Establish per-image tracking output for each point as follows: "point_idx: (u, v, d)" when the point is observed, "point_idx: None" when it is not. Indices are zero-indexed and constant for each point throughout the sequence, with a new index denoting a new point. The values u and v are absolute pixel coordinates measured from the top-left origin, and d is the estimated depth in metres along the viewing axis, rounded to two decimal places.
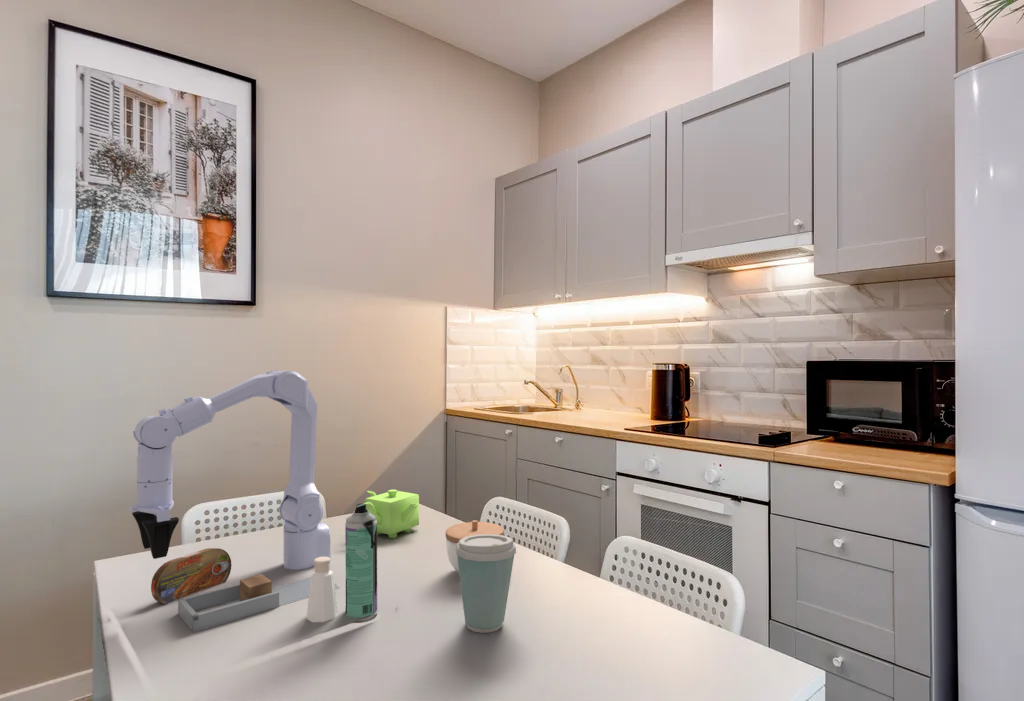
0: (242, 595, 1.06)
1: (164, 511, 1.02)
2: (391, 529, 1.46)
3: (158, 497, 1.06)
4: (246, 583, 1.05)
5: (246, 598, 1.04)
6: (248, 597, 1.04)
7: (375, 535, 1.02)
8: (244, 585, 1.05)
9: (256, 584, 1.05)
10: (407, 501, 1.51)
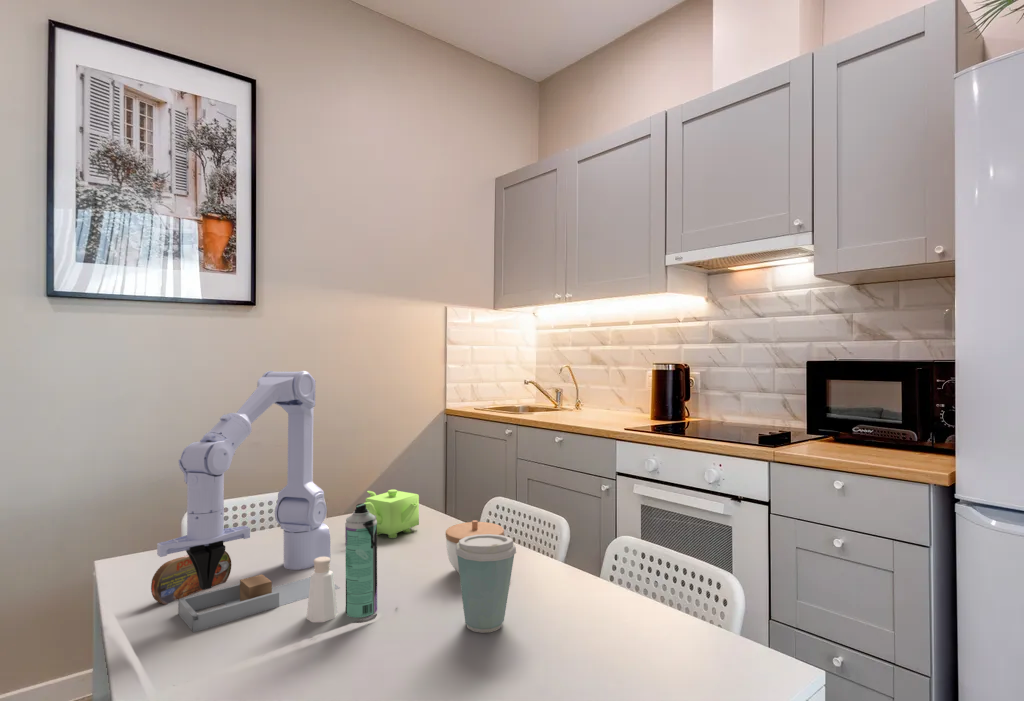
0: (242, 595, 1.06)
1: (158, 545, 0.96)
2: (391, 529, 1.46)
3: (187, 529, 0.99)
4: (246, 583, 1.05)
5: (246, 598, 1.04)
6: (248, 597, 1.04)
7: (375, 535, 1.02)
8: (244, 585, 1.05)
9: (256, 584, 1.05)
10: (407, 501, 1.51)
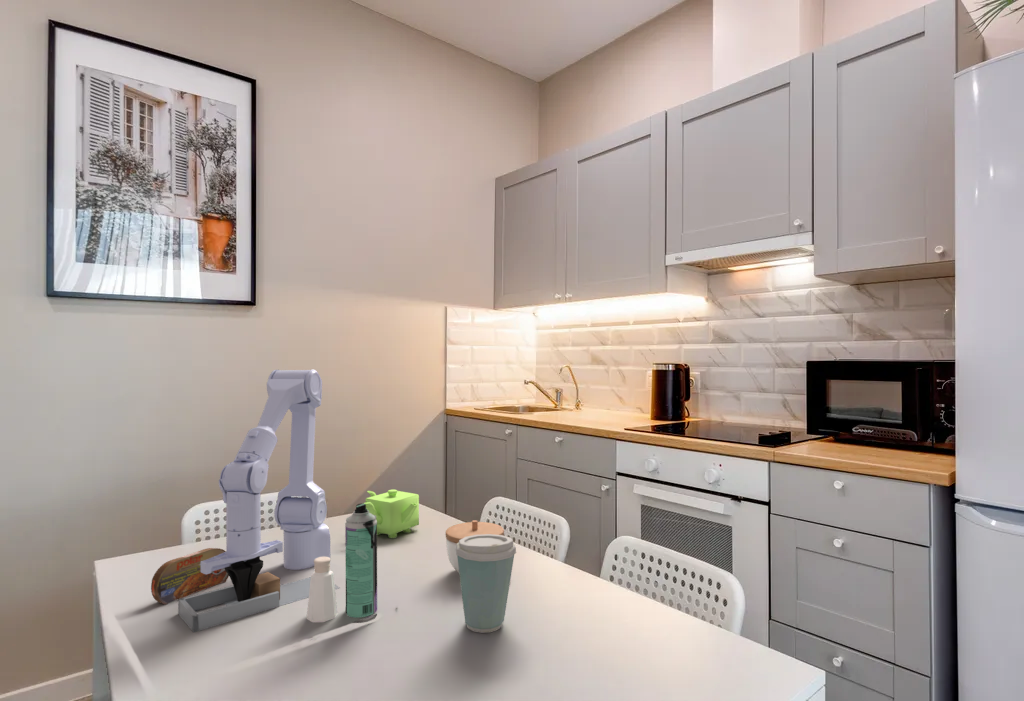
0: None
1: (203, 563, 0.99)
2: (391, 529, 1.46)
3: (228, 546, 1.03)
4: None
5: (255, 595, 1.05)
6: (257, 594, 1.05)
7: (375, 535, 1.02)
8: None
9: (265, 581, 1.06)
10: (407, 501, 1.51)
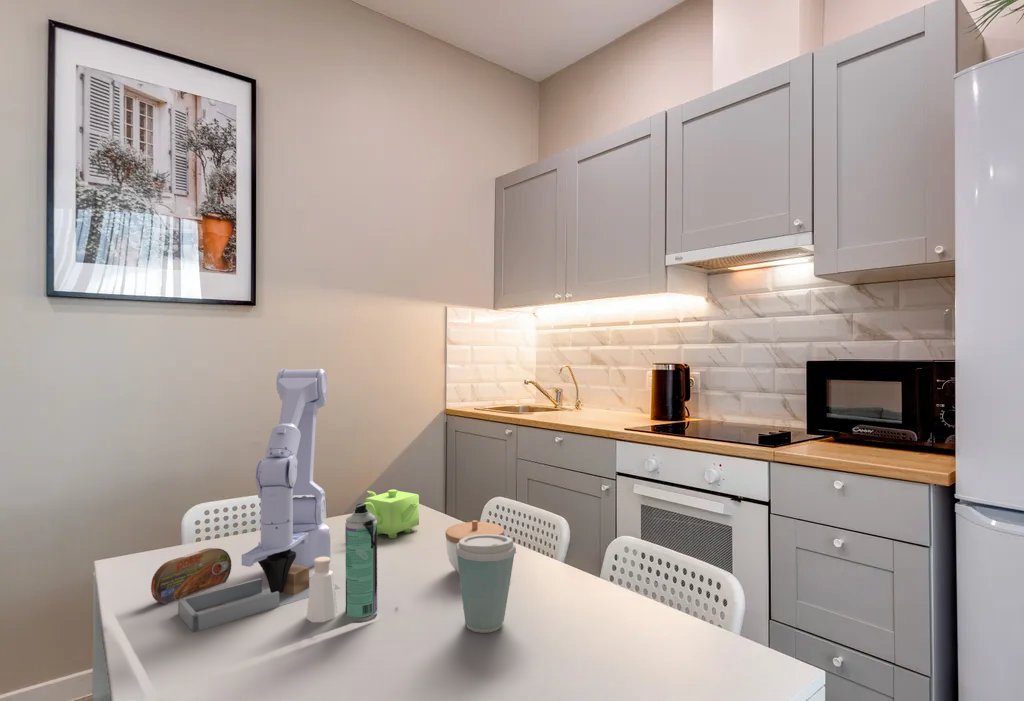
0: None
1: (245, 556, 1.03)
2: (391, 529, 1.46)
3: (265, 539, 1.07)
4: None
5: (288, 585, 1.10)
6: (292, 584, 1.10)
7: (375, 535, 1.02)
8: None
9: (297, 571, 1.11)
10: (407, 501, 1.51)
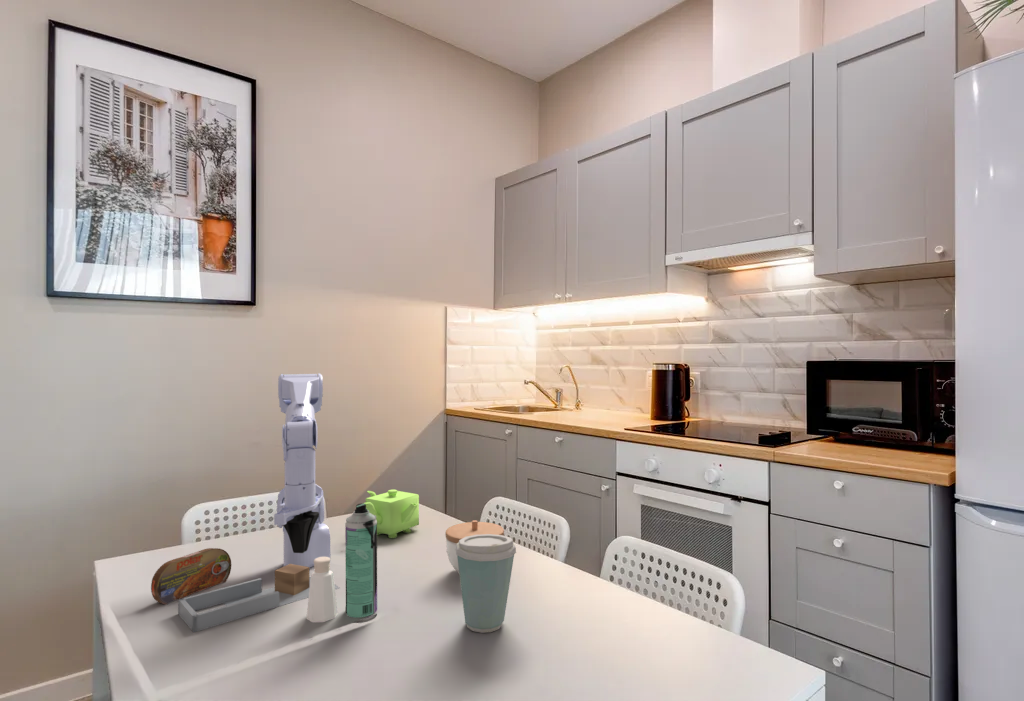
0: (280, 584, 1.11)
1: (279, 515, 1.05)
2: (391, 529, 1.46)
3: (292, 500, 1.10)
4: (286, 572, 1.11)
5: (288, 585, 1.10)
6: (292, 584, 1.10)
7: (375, 535, 1.02)
8: (284, 574, 1.11)
9: (297, 571, 1.11)
10: (407, 501, 1.51)
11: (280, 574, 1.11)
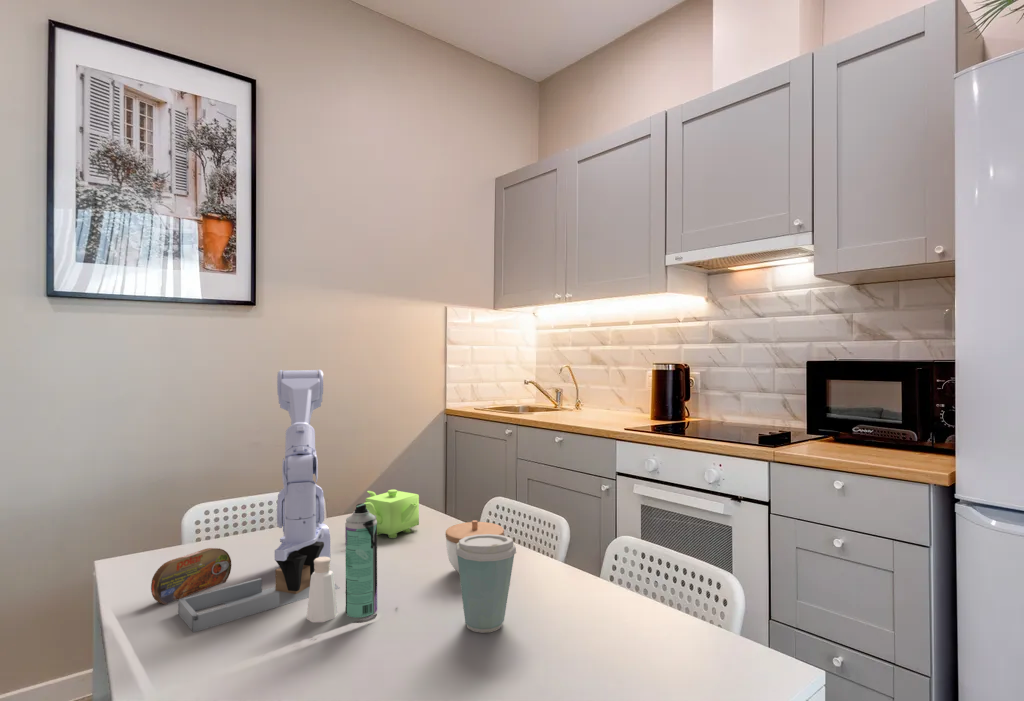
0: (281, 583, 1.11)
1: (279, 551, 1.05)
2: (391, 529, 1.46)
3: (292, 534, 1.10)
4: None
5: None
6: None
7: (375, 535, 1.02)
8: None
9: None
10: (407, 501, 1.51)
11: (281, 573, 1.11)
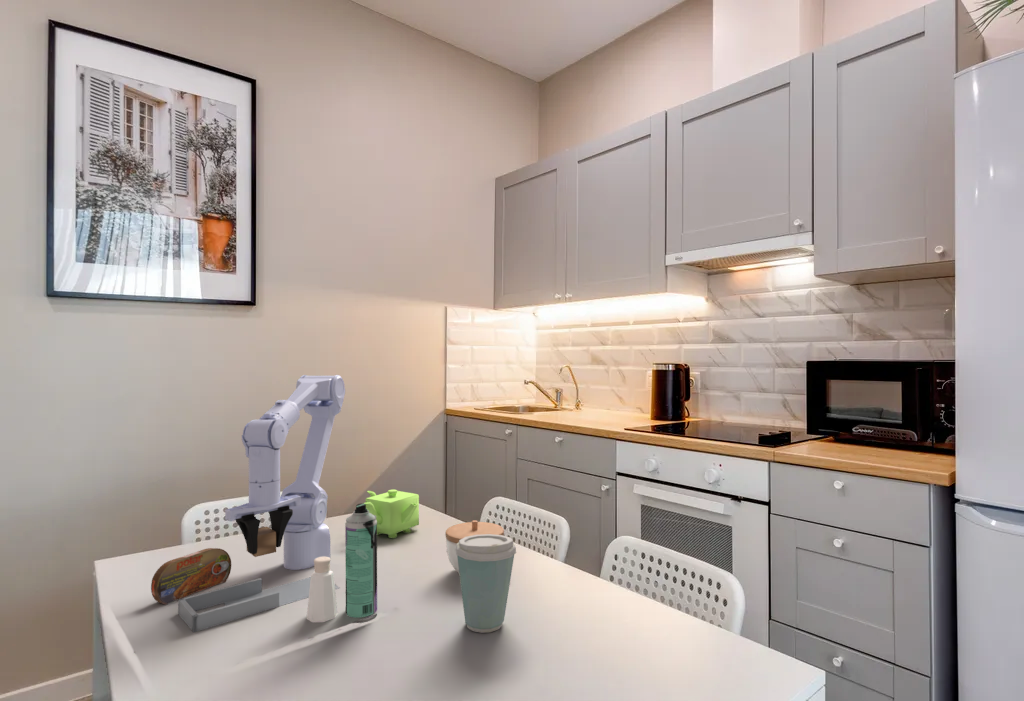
0: None
1: (227, 511, 1.07)
2: (391, 529, 1.46)
3: (250, 497, 1.10)
4: None
5: None
6: None
7: (375, 535, 1.02)
8: None
9: (261, 534, 1.12)
10: (407, 501, 1.51)
11: None
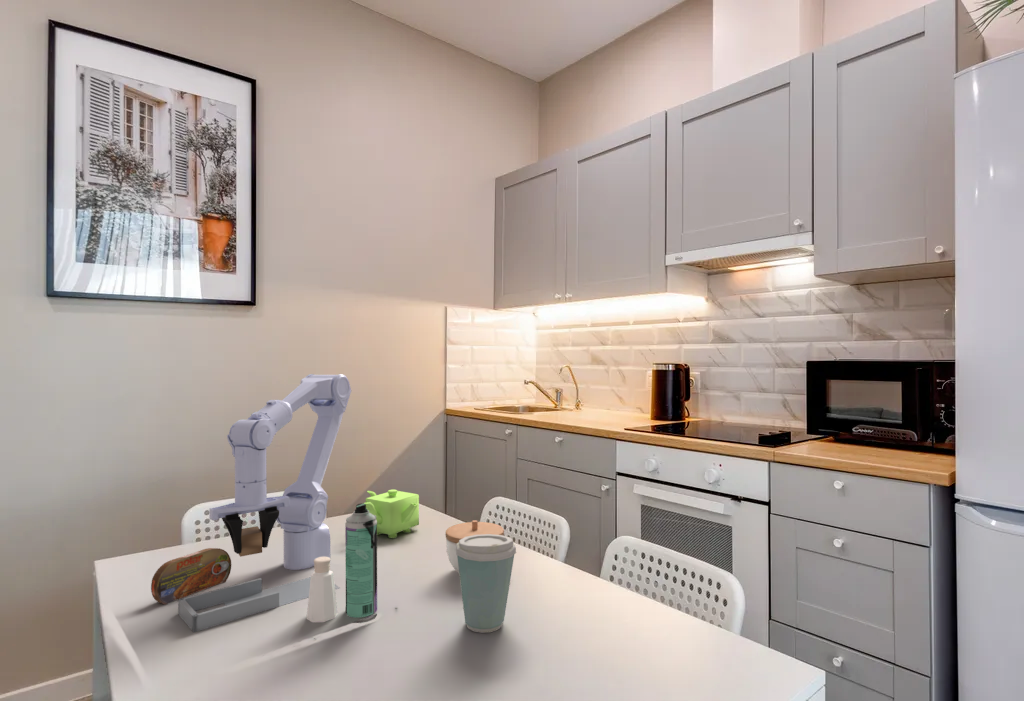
0: None
1: (211, 510, 1.08)
2: (391, 529, 1.46)
3: (235, 497, 1.11)
4: None
5: None
6: None
7: (375, 535, 1.02)
8: None
9: (247, 534, 1.12)
10: (407, 501, 1.51)
11: None
